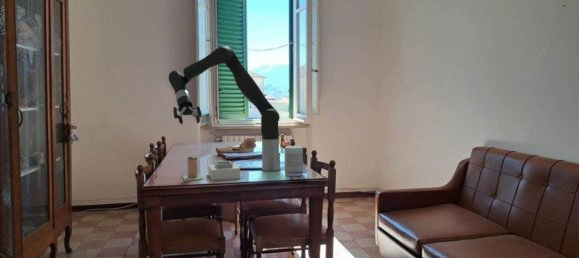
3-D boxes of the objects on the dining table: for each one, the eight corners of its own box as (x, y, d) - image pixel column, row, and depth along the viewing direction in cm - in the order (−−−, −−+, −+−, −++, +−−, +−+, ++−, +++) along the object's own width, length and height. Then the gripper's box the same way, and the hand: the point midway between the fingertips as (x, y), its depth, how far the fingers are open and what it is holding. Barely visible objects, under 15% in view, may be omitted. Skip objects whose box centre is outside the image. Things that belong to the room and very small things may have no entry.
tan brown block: (196, 175, 214) (196, 156, 213) (198, 177, 209) (197, 157, 208) (187, 176, 212) (187, 156, 211) (188, 178, 208) (188, 158, 207)
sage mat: (201, 175, 216) (201, 174, 216) (203, 179, 208) (203, 178, 208) (182, 177, 214) (182, 175, 214) (184, 180, 205) (184, 179, 205)
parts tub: (238, 172, 225) (237, 159, 224) (243, 177, 212) (243, 164, 212) (208, 174, 220) (208, 161, 219) (211, 179, 207) (211, 165, 207)
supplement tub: (306, 175, 218) (306, 147, 217) (291, 177, 213) (291, 148, 211) (296, 172, 226) (296, 145, 225) (281, 174, 221) (281, 146, 219)
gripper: (171, 95, 223) (177, 118, 214) (198, 95, 230) (205, 117, 221) (169, 105, 228) (175, 128, 220) (195, 104, 235) (202, 126, 226)
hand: (190, 122), depth 220 cm, fingers open, 8 cm apart
